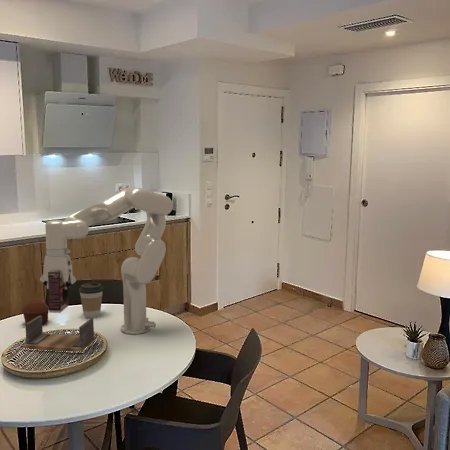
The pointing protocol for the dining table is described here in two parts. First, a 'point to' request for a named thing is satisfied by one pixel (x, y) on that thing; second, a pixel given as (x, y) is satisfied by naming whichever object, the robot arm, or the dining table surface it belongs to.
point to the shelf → (58, 337)
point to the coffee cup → (91, 299)
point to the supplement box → (56, 292)
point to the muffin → (36, 311)
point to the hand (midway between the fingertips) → (58, 297)
